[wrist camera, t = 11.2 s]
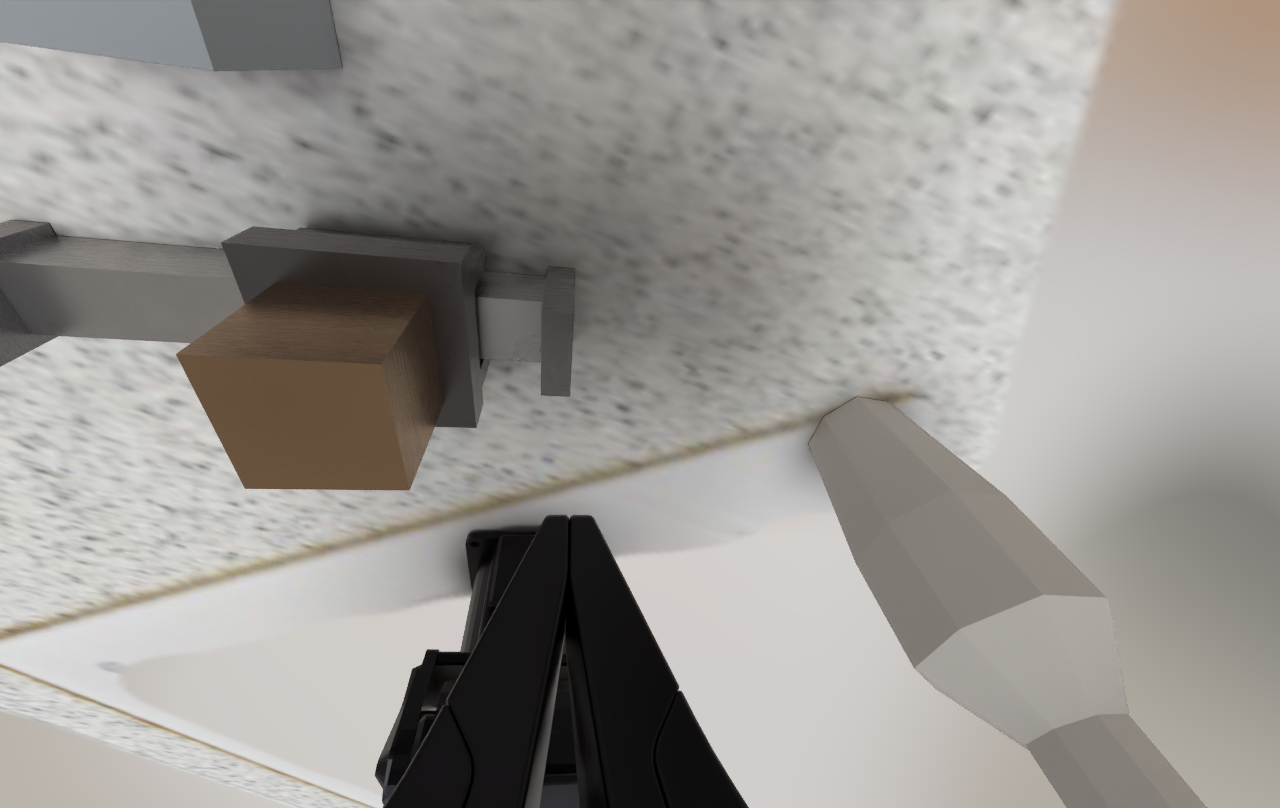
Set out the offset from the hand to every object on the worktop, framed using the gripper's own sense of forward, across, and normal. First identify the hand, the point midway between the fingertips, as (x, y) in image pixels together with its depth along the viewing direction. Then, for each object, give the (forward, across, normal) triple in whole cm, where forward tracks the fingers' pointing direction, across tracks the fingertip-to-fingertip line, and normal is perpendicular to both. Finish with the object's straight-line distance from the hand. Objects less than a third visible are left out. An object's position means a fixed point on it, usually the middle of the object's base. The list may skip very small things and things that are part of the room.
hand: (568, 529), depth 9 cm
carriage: (+12, +6, +1) cm, 14 cm away
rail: (+12, +9, +1) cm, 15 cm away
